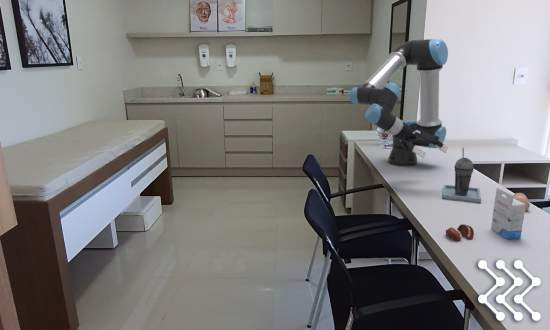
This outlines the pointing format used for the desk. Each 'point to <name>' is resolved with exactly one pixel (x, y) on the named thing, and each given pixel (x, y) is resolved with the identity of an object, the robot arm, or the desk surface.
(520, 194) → the brown egg
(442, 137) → the robot arm
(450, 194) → the tray
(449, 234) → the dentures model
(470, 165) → the beverage cup
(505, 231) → the ink box
